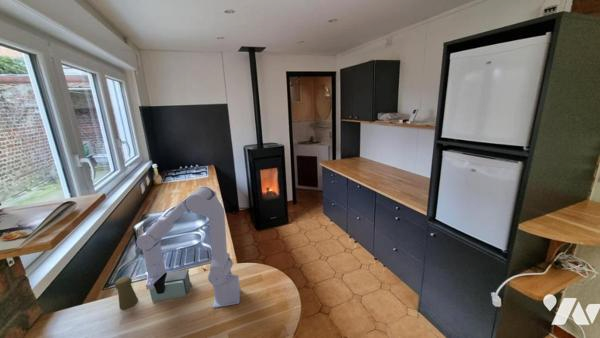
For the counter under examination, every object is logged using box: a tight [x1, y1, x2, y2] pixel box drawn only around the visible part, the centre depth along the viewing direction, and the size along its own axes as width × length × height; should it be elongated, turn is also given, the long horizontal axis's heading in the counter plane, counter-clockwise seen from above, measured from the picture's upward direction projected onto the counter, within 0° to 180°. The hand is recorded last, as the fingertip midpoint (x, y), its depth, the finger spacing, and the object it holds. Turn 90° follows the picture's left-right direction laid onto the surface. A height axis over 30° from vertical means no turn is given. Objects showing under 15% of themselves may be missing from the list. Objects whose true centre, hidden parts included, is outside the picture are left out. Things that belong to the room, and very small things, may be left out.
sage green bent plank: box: [148, 280, 187, 302], centre depth 96 cm, size 12×1×6 cm, turn 99°
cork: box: [114, 276, 139, 311], centre depth 94 cm, size 6×6×11 cm
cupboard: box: [165, 268, 192, 295], centre depth 100 cm, size 13×6×7 cm, turn 100°
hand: (161, 292), depth 94 cm, fingers closed, pressing on sage green bent plank
